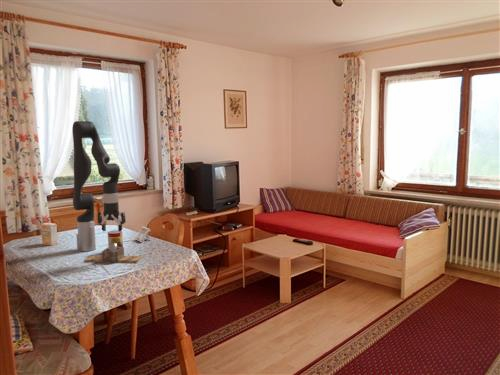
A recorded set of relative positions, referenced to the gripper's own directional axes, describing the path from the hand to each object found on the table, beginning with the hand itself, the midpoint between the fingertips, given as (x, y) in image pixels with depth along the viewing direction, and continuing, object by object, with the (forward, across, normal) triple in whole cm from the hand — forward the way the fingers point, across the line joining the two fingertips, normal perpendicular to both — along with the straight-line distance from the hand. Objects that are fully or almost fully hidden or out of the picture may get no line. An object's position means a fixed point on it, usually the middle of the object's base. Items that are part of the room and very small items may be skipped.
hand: (112, 231), depth 207 cm
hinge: (+16, 0, 0) cm, 16 cm away
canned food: (+16, -5, +15) cm, 22 cm away
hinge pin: (+16, 0, 0) cm, 16 cm away
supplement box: (+17, -53, +29) cm, 62 cm away
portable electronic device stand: (+17, +3, +40) cm, 43 cm away
